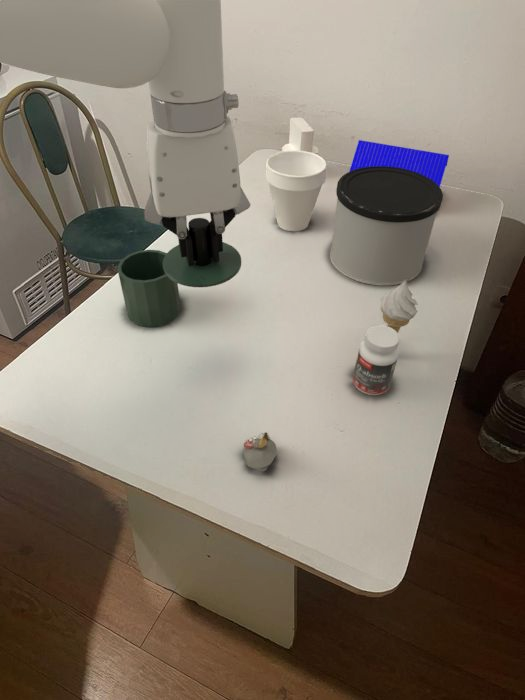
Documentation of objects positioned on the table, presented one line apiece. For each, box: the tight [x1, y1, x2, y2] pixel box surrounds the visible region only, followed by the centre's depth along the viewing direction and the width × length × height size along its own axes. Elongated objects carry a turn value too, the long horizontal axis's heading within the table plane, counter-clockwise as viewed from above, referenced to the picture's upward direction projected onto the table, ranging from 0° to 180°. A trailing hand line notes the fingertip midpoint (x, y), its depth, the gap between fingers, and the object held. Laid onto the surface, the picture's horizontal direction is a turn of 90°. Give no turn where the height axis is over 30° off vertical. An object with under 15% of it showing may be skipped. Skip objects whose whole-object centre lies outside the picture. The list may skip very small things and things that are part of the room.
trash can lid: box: [163, 217, 242, 288], centre depth 65 cm, size 10×10×7 cm
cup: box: [265, 150, 328, 232], centre depth 108 cm, size 12×12×14 cm
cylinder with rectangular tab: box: [281, 116, 319, 155], centre depth 126 cm, size 9×9×12 cm
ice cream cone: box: [380, 280, 419, 334], centre depth 78 cm, size 6×6×15 cm
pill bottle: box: [352, 324, 400, 396], centre depth 76 cm, size 6×6×10 cm
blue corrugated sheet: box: [348, 139, 450, 188], centre depth 118 cm, size 12×20×12 cm, turn 68°
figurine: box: [242, 431, 278, 472], centre depth 67 cm, size 5×4×6 cm
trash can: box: [117, 249, 181, 328], centre depth 88 cm, size 9×9×10 cm
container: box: [329, 166, 444, 287], centre depth 98 cm, size 19×19×15 cm
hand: (201, 256), depth 66 cm, fingers closed on trash can lid, 2 cm apart
